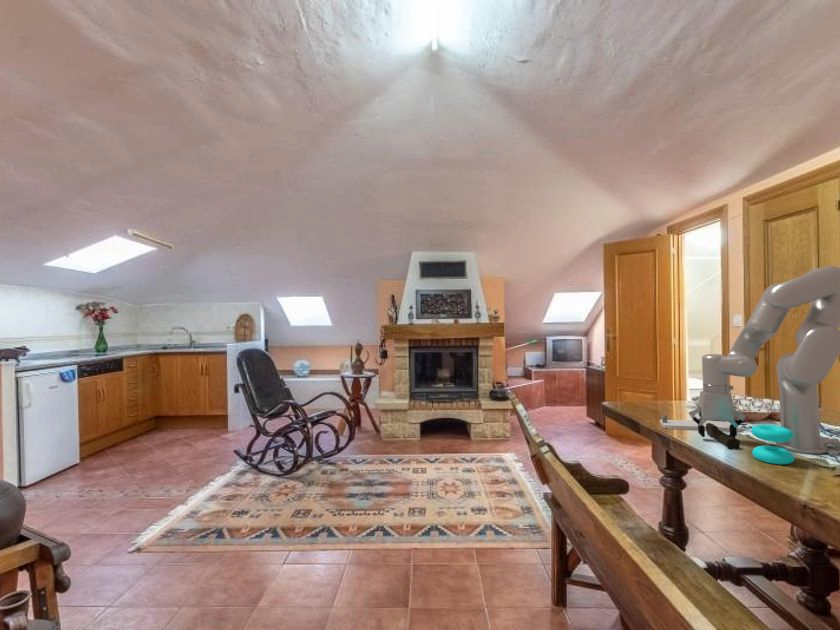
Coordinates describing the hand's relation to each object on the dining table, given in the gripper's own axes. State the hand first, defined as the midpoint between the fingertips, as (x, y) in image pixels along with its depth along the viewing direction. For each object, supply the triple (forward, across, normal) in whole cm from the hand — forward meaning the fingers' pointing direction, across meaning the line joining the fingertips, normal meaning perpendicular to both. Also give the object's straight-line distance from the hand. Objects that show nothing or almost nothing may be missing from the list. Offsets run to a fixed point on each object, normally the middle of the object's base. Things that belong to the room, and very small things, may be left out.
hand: (717, 436), depth 148 cm
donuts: (+2, -9, +18) cm, 20 cm away
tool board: (+1, +1, -17) cm, 17 cm away
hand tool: (+2, 0, 0) cm, 2 cm away
